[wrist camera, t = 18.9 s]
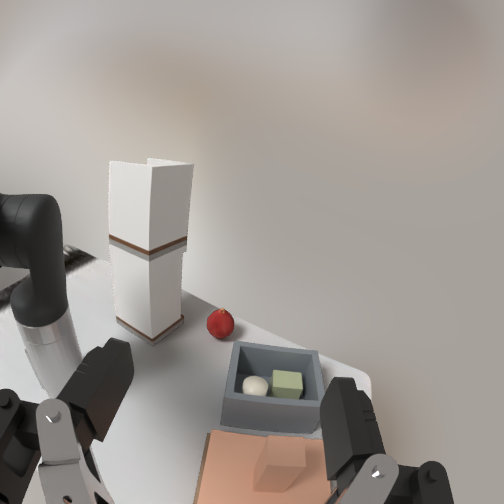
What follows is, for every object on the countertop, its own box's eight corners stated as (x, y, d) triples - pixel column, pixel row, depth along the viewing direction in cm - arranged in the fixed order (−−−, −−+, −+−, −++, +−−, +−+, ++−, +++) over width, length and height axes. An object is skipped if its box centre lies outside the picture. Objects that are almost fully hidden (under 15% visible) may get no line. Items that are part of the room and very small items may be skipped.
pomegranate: (202, 330, 60) (204, 301, 57) (226, 327, 63) (230, 298, 60) (210, 347, 56) (213, 317, 52) (236, 344, 58) (240, 314, 55)
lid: (194, 521, 21) (191, 502, 17) (211, 436, 35) (215, 389, 31) (326, 528, 21) (369, 504, 17) (320, 446, 35) (350, 402, 31)
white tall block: (183, 322, 62) (193, 164, 48) (152, 346, 53) (152, 167, 39) (148, 303, 66) (150, 158, 52) (117, 322, 57) (109, 161, 43)
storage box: (220, 424, 38) (224, 396, 35) (229, 370, 50) (234, 340, 47) (311, 433, 38) (327, 407, 35) (305, 379, 50) (317, 350, 47)
